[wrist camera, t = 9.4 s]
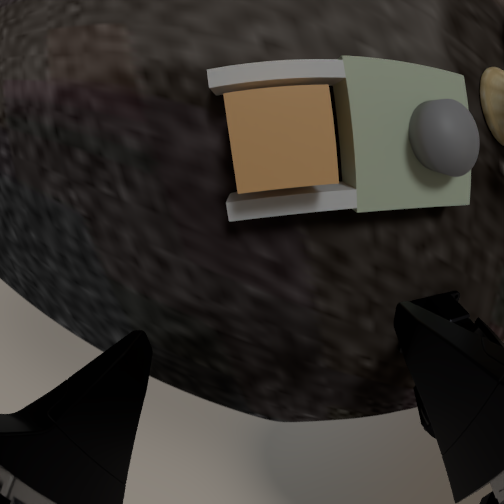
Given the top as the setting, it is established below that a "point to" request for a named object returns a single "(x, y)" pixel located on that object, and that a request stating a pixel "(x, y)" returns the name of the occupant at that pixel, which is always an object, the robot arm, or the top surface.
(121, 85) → the top surface
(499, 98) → the hand bell
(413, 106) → the two-pronged gray clamp
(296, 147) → the cardboard shipping carton
